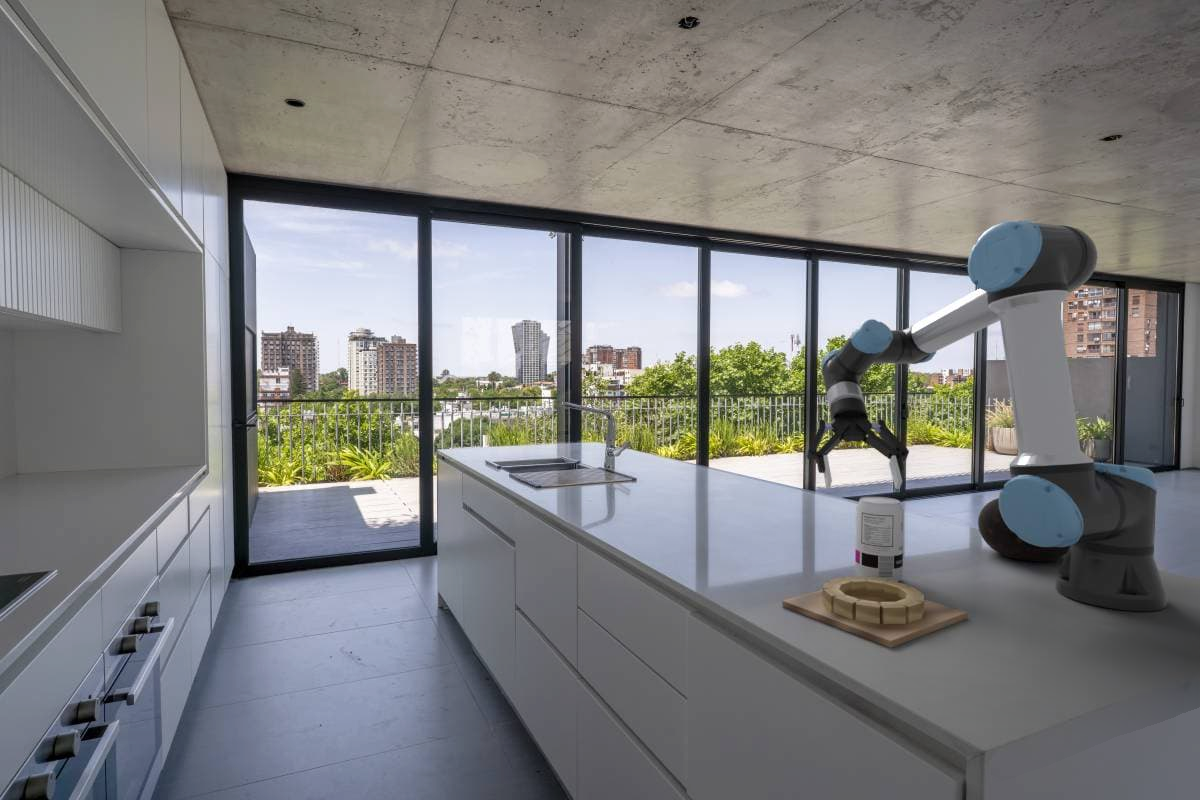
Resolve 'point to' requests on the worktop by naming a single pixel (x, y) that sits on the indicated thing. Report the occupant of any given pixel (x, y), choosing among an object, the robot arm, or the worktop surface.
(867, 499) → the supplement can
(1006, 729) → the worktop surface
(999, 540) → the dark vase
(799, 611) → the hub seat
